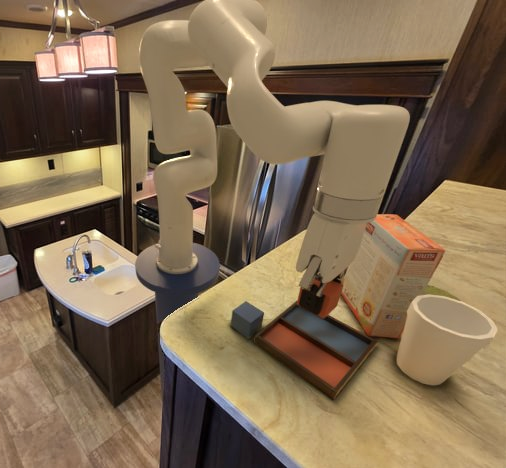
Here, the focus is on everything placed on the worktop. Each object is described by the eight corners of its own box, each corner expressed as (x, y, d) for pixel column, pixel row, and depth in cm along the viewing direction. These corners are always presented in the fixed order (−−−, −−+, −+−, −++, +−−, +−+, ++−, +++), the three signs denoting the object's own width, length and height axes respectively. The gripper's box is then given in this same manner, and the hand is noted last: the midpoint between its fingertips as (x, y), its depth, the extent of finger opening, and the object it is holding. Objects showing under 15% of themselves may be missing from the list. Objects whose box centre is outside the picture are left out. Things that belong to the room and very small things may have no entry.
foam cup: (399, 338, 56) (425, 287, 50) (464, 373, 50) (504, 318, 43) (376, 363, 52) (402, 310, 46) (444, 405, 45) (485, 350, 39)
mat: (386, 303, 65) (389, 297, 64) (402, 282, 70) (405, 276, 69) (455, 333, 57) (460, 326, 56) (468, 306, 62) (472, 299, 61)
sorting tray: (253, 341, 58) (254, 334, 57) (297, 305, 66) (298, 298, 65) (333, 399, 47) (336, 392, 46) (374, 348, 55) (377, 340, 54)
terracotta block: (296, 304, 50) (301, 283, 47) (309, 293, 52) (315, 272, 50) (323, 319, 46) (330, 297, 44) (336, 306, 48) (343, 285, 46)
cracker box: (401, 340, 56) (449, 249, 46) (366, 337, 57) (406, 248, 47) (366, 292, 68) (398, 212, 58) (338, 291, 69) (364, 212, 59)
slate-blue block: (230, 325, 62) (232, 310, 60) (243, 316, 65) (245, 300, 62) (248, 338, 59) (250, 323, 57) (261, 327, 61) (264, 312, 59)
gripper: (344, 181, 47) (319, 272, 56) (285, 212, 39) (267, 313, 47) (401, 193, 41) (363, 291, 50) (347, 232, 33) (314, 342, 42)
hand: (317, 301), depth 49 cm, fingers closed on terracotta block, 4 cm apart
